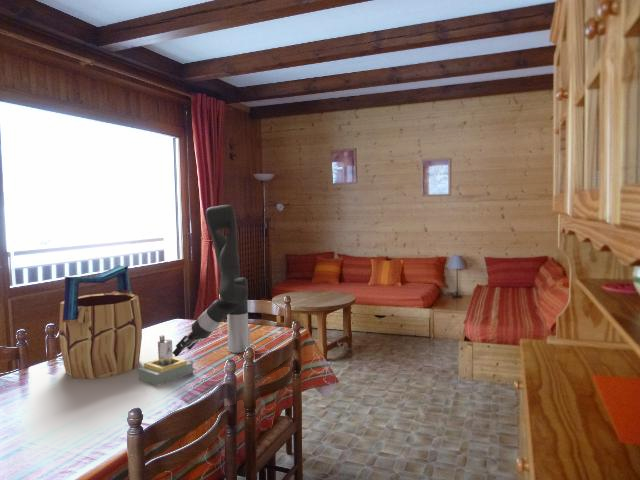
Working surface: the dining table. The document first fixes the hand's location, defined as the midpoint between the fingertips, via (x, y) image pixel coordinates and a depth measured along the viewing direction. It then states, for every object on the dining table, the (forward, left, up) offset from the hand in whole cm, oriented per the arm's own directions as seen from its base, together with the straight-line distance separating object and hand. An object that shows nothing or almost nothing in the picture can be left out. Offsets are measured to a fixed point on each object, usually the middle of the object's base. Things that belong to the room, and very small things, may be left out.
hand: (181, 351), depth 178 cm
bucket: (+11, -37, -11) cm, 40 cm away
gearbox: (0, -7, -10) cm, 12 cm away
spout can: (+2, -7, -8) cm, 11 cm away
